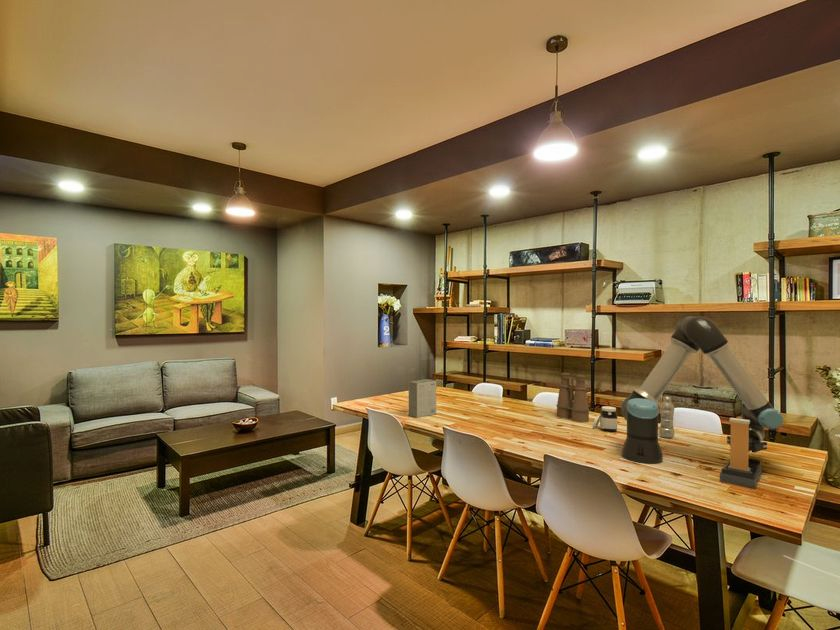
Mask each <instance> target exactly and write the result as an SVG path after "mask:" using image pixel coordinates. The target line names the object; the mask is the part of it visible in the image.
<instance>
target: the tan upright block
mask: <svg viewBox="0 0 840 630" xmlns="http://www.w3.org/2000/svg"><path fill="white" fill-rule="evenodd" d="M729 423H730V437H731V443H730V444H729V446H730V447H729V448H730V450H729V452H730V453H729V455H730V457H729V460H730V465H729V466H728V469H731V470H736V471H741V472H746V473H750V472H751V468H749V467H748V458H749V453H750V452H749V424H750V420H745V419H742V418H735V417H729Z"/></svg>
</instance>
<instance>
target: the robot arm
mask: <svg viewBox="0 0 840 630" xmlns="http://www.w3.org/2000/svg"><path fill="white" fill-rule="evenodd" d="M670 341H671V342H670V345H669V346H668V347H667V348H666V350H665V352H664V353H663V354H662V356H661V357H660V359H659V360H658V361H657V363H656V364H655V366H654V367H653V368H652V370H651V372H650V373H649V374H648V376H647V377H646V379H645V380H644V381H643V383H642V384H641V386H640V387H639V388H634V389H633V391H632V392H631V393H630V395H629V396H627V397H625V399H623V401H622V402H621V405H620V413H621V415H622V417H623V418H624V420H625V421H626V439H625V441H624V443H623V447H622V449H621V456H622V457H623V459H627V460H630V461H633V462H637V463H644V464H659V463H661V462H663V461H664V459H663V452H662V448H661V445H660V443H659V413H660V409H659V407H660V403H659V400H660V398H661V397H662V395H663V394H664V393H665V391H666V390H667V388H668V387H669V385H670V384H671V383H672V381H673V380H674V379H675V377H676V375H677V374H678V373H679V372H680V370H681V369H682V367H684V364H685V363H686V361H687V360H688V359H689V358H690V356H691V355H693V354H697V353H698V351H701V352H702V353H703V354H704V355H706V356H709V358H710V359H711V361H712V362H713V364H714V365H715V366H716V367H717V369H718V371H720V374H722V375H723V376H722V377H724V378H725V380H726V381H727V383H728V384H729V385H730V386H731V388H732V390H733V391H734V392H735V394H737V396H738V398H739V399H740V400H741V404H740V405H741V419H745V420H750V424H749V452H748V453H750V452H751V453H753V454H754V453H758V452H761V451H763V450H768V442H766V441H764V439H765V438H766V432H765V428H767V429H771V430H772V429H773V430H775V429H778V428H780V427H781V426H782V424H783V422H784V417H783V414H782V413H781V412H780V411H779V410H778V409H775V407H773V405H772V403H770V401H769V400H768V399H767V397H766V396H765V394H764V393H763V392H762V390H761V389H760V388H759V387H758V385H757V383H756V382H755V381H754V380H753V378H752V377H751V376H750V374H749V373H748V372H747V370H746V368H745V367H744V366H743V364H742V363H741V362H740V361H739V360H738V359H739V358H738V357H736V355H735V354H734V352H733V350H731V348H730V347H729V346H728V345H729V341H728V339H727V338H726V337H725V335H724V334H723V332H722V331H721V329H720V328H719V327H718V325H717V324H716V323H715V322H714V321H713V320H711V318H708V317H706V316H694V315H693V316H686V317H684V318H683V319H680V320H679V321H678V322H677V324H676V326H675V329H674V332H673V333H672V335H671V336H670ZM730 443H731V435H730V436H729V435H728V436H726V444H729V445H730Z"/></svg>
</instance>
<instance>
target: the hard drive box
mask: <svg viewBox="0 0 840 630" xmlns="http://www.w3.org/2000/svg"><path fill="white" fill-rule="evenodd" d="M433 415H434V416H435V415H437V380H435V379H428V378H427V379H418V380H411V381H408V416H409V417H412V418H422V417H428V416H433Z"/></svg>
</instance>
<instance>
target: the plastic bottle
mask: <svg viewBox="0 0 840 630" xmlns="http://www.w3.org/2000/svg"><path fill="white" fill-rule="evenodd" d="M675 410H676V409H675V405H674V403H673V402H672V396H671V395H663V396H662V402H661V403H659V413H660V424H659V425H660V427H659V429H658V434H659V436H660V437H662V438H665V439H671V438H673V437H674V436H675V428H674V414H675Z"/></svg>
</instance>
